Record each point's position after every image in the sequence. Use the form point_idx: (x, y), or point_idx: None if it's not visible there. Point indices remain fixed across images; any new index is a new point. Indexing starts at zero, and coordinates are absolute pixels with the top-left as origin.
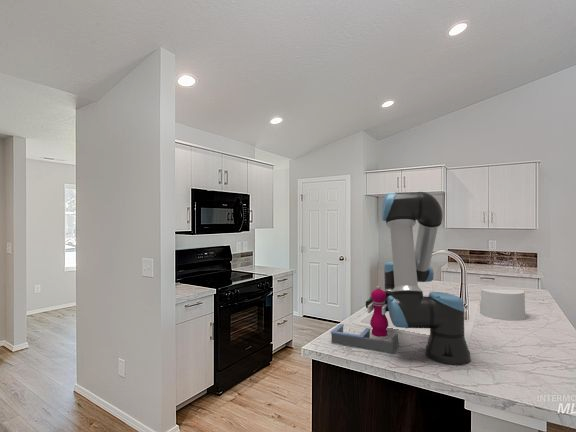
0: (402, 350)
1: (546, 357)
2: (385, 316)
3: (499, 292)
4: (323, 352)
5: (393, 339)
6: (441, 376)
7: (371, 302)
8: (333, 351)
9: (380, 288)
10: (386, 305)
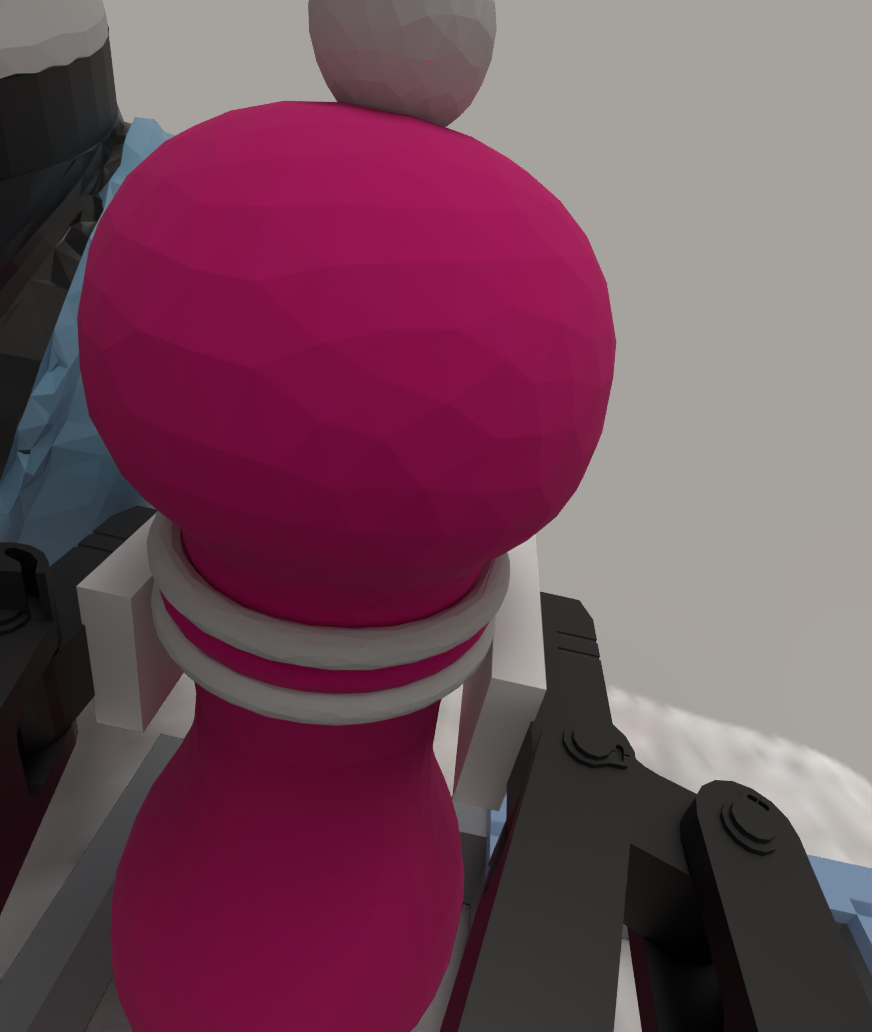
0: (6, 922)
1: None
2: (178, 748)
3: None
4: (708, 723)
5: (108, 846)
6: None
7: (571, 738)
8: (661, 750)
9: (315, 41)
10: (146, 527)
